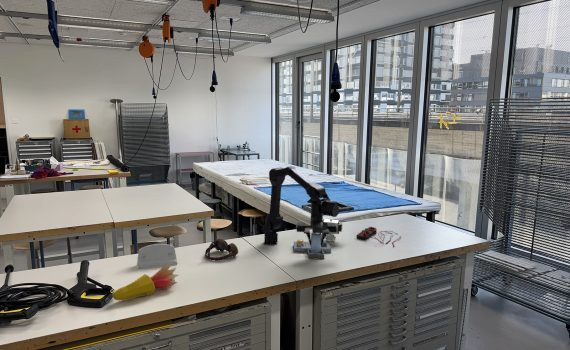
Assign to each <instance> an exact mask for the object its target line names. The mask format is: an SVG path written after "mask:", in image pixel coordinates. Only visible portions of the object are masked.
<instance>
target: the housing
mask: <svg viewBox="0 0 570 350" xmlns="http://www.w3.org/2000/svg"><path fill="white" fill-rule="evenodd" d="M307 249H311V245H310V243H309V241H303V246H297V241H293V251H294V253H307ZM321 249H322V250H323V252H324V254H325V253H326V254H327V253H329V254H330V253H332V247H331V245H330V241H323V244H322V246H321Z"/></svg>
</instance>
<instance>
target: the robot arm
mask: <svg viewBox="0 0 570 350" xmlns="http://www.w3.org/2000/svg"><path fill="white" fill-rule="evenodd" d="M286 176H289V177H290V178H291V179H292V180H294V181H295V183H297V184H298V185H299V186H301V188H303V189H304V190H305V192H306V195H308V196H309V200H307V201H306V203H307V204H310V221H309V222H310V224H309V225H307V224H305V222H297V223H296V225H295V227H296V229H295V230H296V232H297V233H303V234H305V235H306V237H307V240H308V242H309V243H310V245H311V233H312V232H313V233H321V246H322V244H323V242H325V241H324V240H326V239H325V237H326V235H327V234H330V232H333V233H336V232H337V227H336V225H335V224H327V222H323V219H324V216H328V217H331V218H332V217H333V218H337V216H339V211H340V207H339V205H338V202H337V201H332V200H331V199H330V197H329V195H328V194H327V192H326V191H327V190H326V188H325V187H324V186H323V185H320V184H319V183H316V182H313V181H311V180H310V178H308V177H306V176H305V175H304V174H303V173H302V172H300V170H298V169H297V168H296V167H295V166H293V165H291V166H286V167H274V168H271V169H270V170H269V171H268V179H269V180H268V181H269V183H270V184H271V190H270V191H271V192H270V204H269V205H270V206H269V213H268V214H267V216H266V220H265V224H264V225H263V226H262V227H261V228H260V230H261V233H263V234H264V235H263V236H264V240H263V241H264V242H263V244H264V245H277V244H278V242H279V241H278V240H279V239H278V238H279V236H278V231H279V230H280V229H281V227H282V225H283V224H284V223H283V221H284V216H282V215H281V213H280V207H281V197H282V186H283V184H284V182H285V179H286ZM311 230H312V231H311Z"/></svg>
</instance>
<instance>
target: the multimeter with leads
mask: <svg viewBox="0 0 570 350" xmlns="http://www.w3.org/2000/svg"><path fill="white" fill-rule="evenodd" d="M377 231H378V230H377V227H374V226H368V227H366V228H365V227H364V229H362V230H361V231H360V232H358V233H357V234H356V239H357V240H360V241H367V240H369V239H370V238H371V239H373V240H374V239H375V240H377V241H378V242H379V243H380V244H382V245H383V244H384V245H388V244H389V243H390V242H391V245H393V248H395V247H396V246H395V244H394V243H395V242H396V241H398V240H399V239H400V238H401V236H399V238H397V239H395V240H394V241H392V235H393V233H394V234H396V235H398V233H396V232H394V231H391V230H389V231H387V230H381V231H379V232H378V233H377ZM382 232H384V233H387V234H391V235H390V239H389V240H388V241H387V242H385V243H384V241H385V237H386V235H385V234H384V233H382ZM376 234H377V235H378V237H379V238H380V240H379V239H378V238H377V237H376V236H375V235H376ZM380 234H382V235H383V239H382V237H381V236H380Z"/></svg>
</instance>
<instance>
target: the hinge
mask: <svg viewBox="0 0 570 350" xmlns="http://www.w3.org/2000/svg"><path fill="white" fill-rule="evenodd" d="M172 262H173V263H172ZM169 263H172V265H171V266H170V267H173V266H177V265H178V259H177V253H176V248H175V246H174V245H171V244H167V243H154V244H149V245H146V246H143V247H141V248H139V250H138V253H137V262H136V266H137V270H145V269H155V268H162V267H163V266H165V265H167V264H169Z"/></svg>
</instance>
